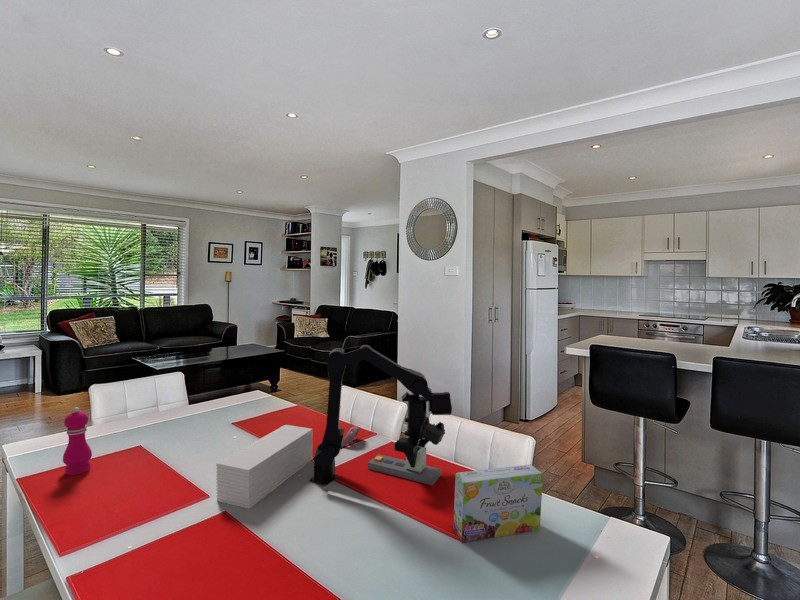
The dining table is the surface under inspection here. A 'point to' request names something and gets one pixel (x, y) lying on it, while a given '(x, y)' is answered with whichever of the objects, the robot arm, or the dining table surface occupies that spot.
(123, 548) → the dining table surface
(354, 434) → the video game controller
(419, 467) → the block
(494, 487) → the snack box
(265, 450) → the stack of papers
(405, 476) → the power strip
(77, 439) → the pepper mill
